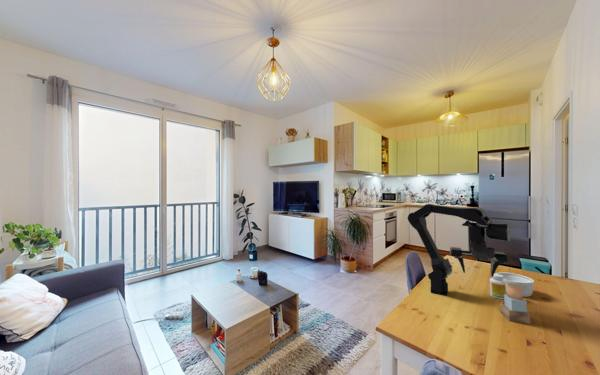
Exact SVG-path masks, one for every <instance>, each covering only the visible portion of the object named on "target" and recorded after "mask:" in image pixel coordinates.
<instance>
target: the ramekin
mask: <svg viewBox="0 0 600 375" xmlns="http://www.w3.org/2000/svg"><path fill="white" fill-rule="evenodd" d="M495 274H500V275H502V276H503V281H505V284H506V294H507V285H508V284H512V285H517V286H520V287H521V288H522V298H528V297H531V296H532V295H533V291H534V285H535V280H534V279H533V278H530V277H528V276H525V275H522V274H518V273H513V272H506V271H505V272H495Z"/></svg>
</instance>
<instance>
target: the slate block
mask: <svg viewBox="0 0 600 375" xmlns="http://www.w3.org/2000/svg"><path fill="white" fill-rule="evenodd" d="M503 301H504V305H505V306H507V307H508V308H509V309H510V310H511V311H518V312H526V313H527V311H528V301H527V300H526V299H524V297H522V300H517V299H512V298H510V297H508V296H507V293H506V294H504V299H503Z"/></svg>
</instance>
